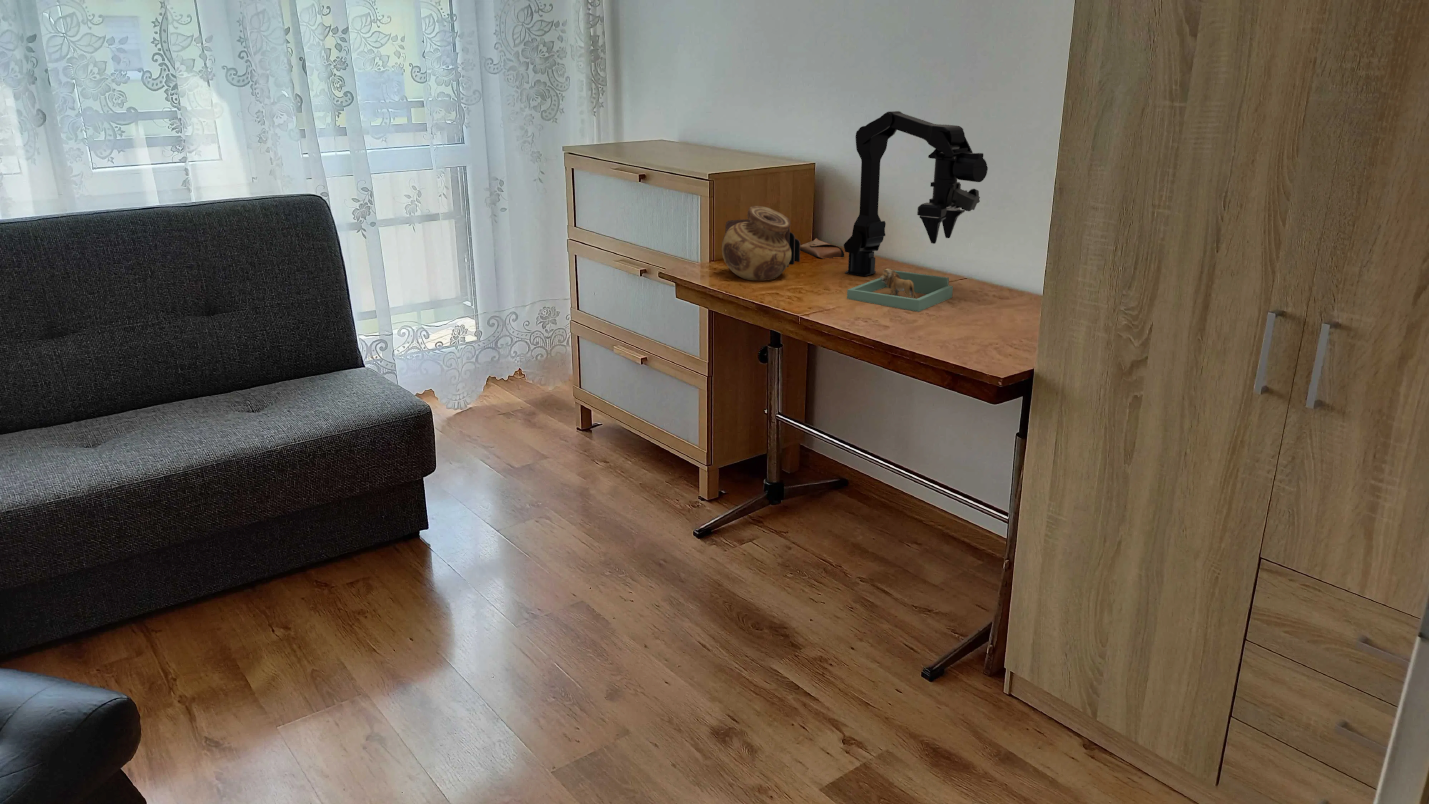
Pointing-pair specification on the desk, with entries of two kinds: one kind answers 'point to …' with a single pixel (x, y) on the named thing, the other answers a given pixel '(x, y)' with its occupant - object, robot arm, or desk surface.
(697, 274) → the desk surface
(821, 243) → the sunglasses case
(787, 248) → the clay pot
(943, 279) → the cold frame
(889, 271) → the lion figurine
